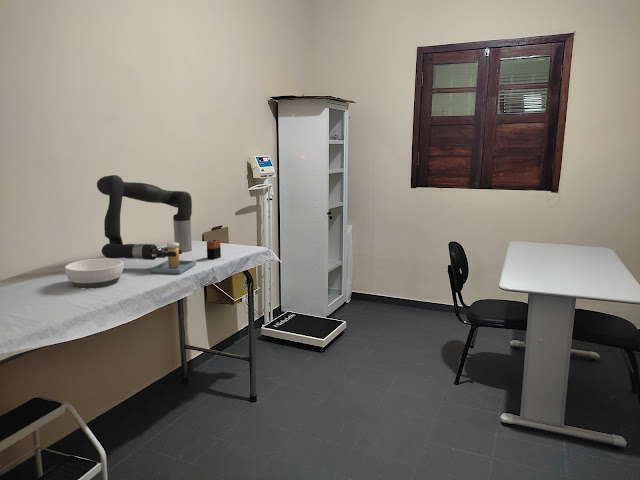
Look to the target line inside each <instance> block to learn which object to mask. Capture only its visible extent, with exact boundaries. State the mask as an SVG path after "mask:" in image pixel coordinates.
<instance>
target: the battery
mask: <svg viewBox="0 0 640 480" xmlns="http://www.w3.org/2000/svg"><path fill="white" fill-rule="evenodd" d="M221 247H222V246H221V240H220V239H218V238H215V237H214V238H213V239H210V240H208V241H206V259H207V260H216V259H219V258H222V253H221Z"/></svg>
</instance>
